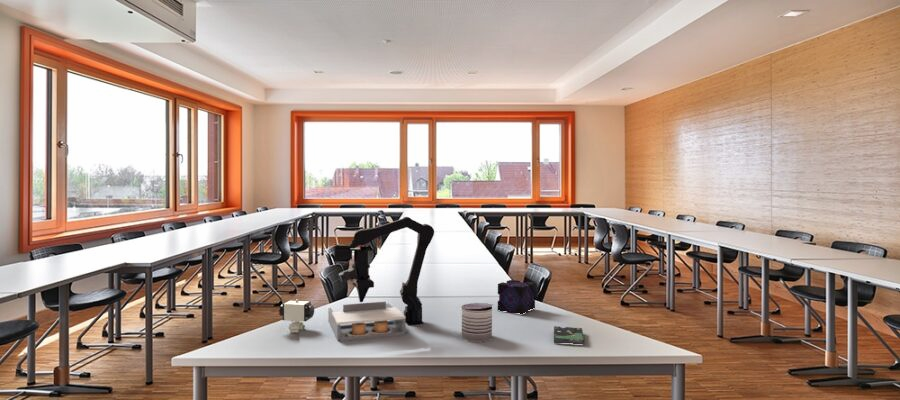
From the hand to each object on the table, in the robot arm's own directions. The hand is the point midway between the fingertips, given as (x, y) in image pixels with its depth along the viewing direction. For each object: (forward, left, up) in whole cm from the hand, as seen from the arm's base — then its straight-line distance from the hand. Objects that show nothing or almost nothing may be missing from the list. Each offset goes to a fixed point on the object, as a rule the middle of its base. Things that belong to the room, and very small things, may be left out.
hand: (361, 302), depth 193 cm
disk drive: (-67, +42, -10) cm, 79 cm away
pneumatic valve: (+24, +2, -9) cm, 26 cm away
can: (-36, +30, -9) cm, 48 cm away
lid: (0, +14, -2) cm, 14 cm away
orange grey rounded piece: (-4, +17, -8) cm, 19 cm away
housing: (0, +8, -9) cm, 12 cm away
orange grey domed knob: (+4, +17, -8) cm, 19 cm away
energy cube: (-68, 0, -9) cm, 69 cm away
